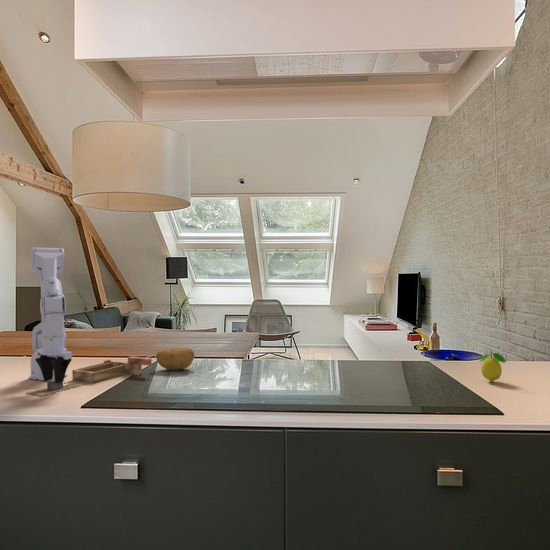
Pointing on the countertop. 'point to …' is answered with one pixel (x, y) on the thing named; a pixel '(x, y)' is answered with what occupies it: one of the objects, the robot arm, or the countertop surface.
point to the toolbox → (106, 371)
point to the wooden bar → (140, 360)
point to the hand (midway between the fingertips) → (53, 381)
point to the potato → (175, 358)
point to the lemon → (492, 366)
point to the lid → (53, 388)
